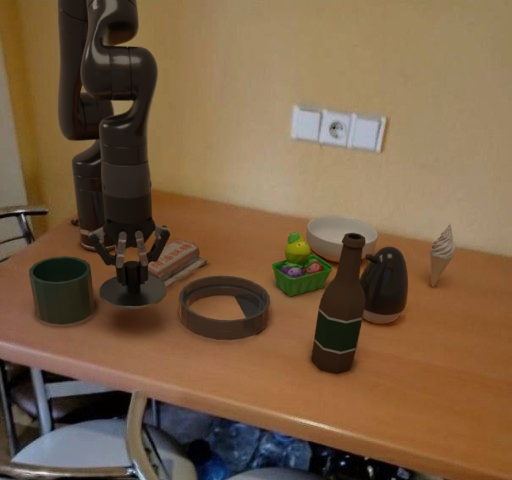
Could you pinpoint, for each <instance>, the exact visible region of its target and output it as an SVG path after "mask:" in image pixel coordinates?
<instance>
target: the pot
mask: <svg viewBox="0 0 512 480" xmlns="http://www.w3.org/2000/svg"><path fill="white" fill-rule="evenodd" d="M28 276H29V282H30V287H31V294H32V299H33V304H34V310H35V311H34V312H35V315H36V316H37V318H38V319H39V320H41V321H42V322H45V323H47V324H50V325H51V324H52V325H60V326H61V325H70V324H75V323H79V322H81V321H84V320H86V319H87V318H89V317H90V316H92V315H93V313H94V312H95V310H96V303H95V295H94V287H93V286H94V285H93V278H92V268H91V264H90V263H89V262H88V261H87V260H85V259H82V258H79V257H76V256H67V255H65V256H64V255H62V256H52V257H47V258H44V259H41V260H39V261H38V262H35V263H34V264H33V265H32V266H31V267H30V268H29V269H28Z"/></svg>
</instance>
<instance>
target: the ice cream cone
mask: <svg viewBox="0 0 512 480" xmlns="http://www.w3.org/2000/svg"><path fill="white" fill-rule="evenodd" d="M453 239H454V236H453V232H452V223H449V224H448V225H447V227H446V228H445V229H444V230H443V231H442V232H441V233H440V236H439V237H438V238H437V239H436V240H434V241H433V244H432V245H431V249H430V250H429V254H430V278H431V279H430V280H431V281H430V282H431V287H432V288H434V287H435V286H436V284H437V282H438V281H439V279H440V278H441V276H442V275H443V273H444V271H446V269H447V267H448V266H449V264H450V262H451V260H452V259H453V258H454V256H455V255H454V254H455V252H456V243H455V242H454V240H453Z"/></svg>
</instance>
